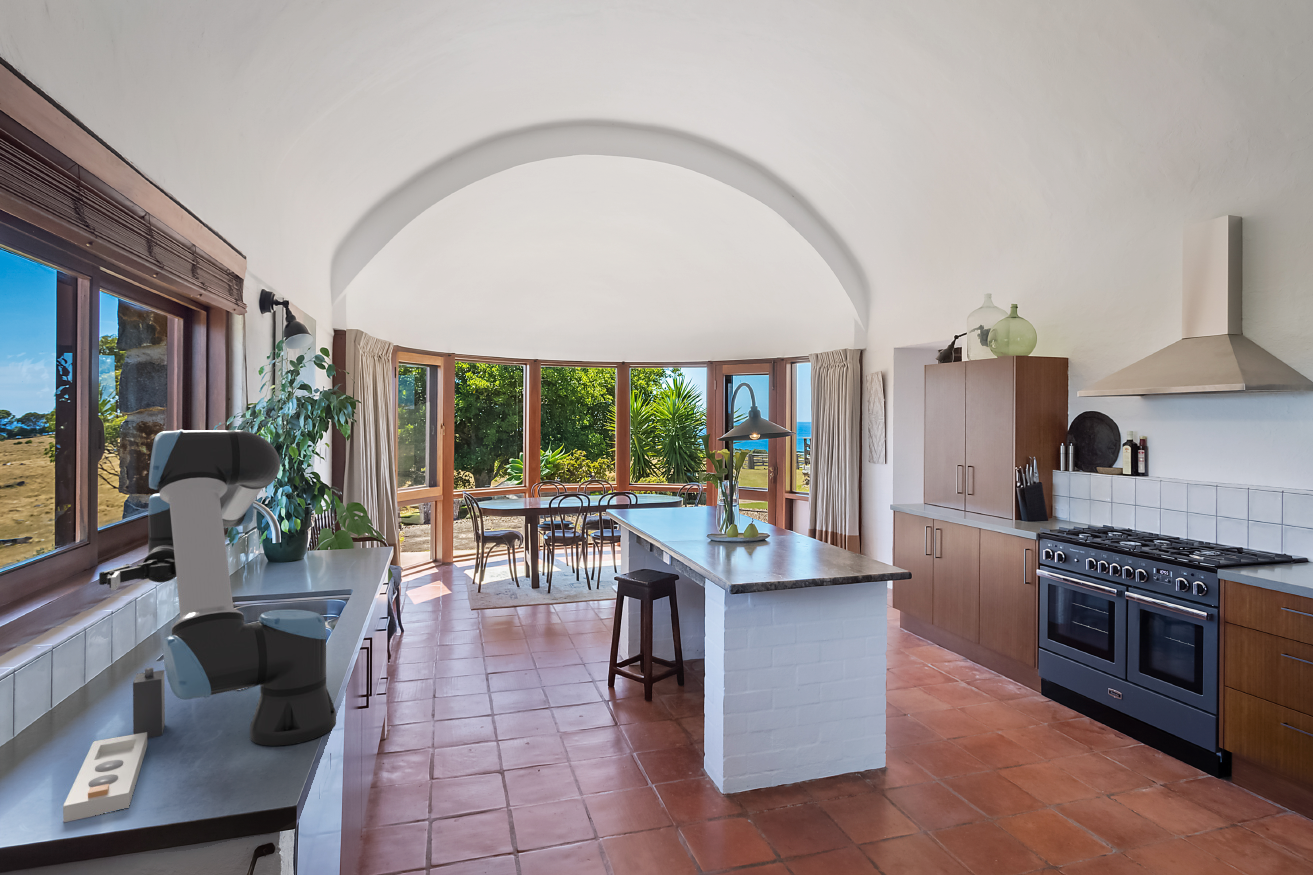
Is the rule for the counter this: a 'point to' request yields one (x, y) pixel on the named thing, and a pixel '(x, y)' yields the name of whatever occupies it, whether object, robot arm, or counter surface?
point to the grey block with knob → (149, 703)
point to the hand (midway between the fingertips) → (154, 580)
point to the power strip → (106, 777)
